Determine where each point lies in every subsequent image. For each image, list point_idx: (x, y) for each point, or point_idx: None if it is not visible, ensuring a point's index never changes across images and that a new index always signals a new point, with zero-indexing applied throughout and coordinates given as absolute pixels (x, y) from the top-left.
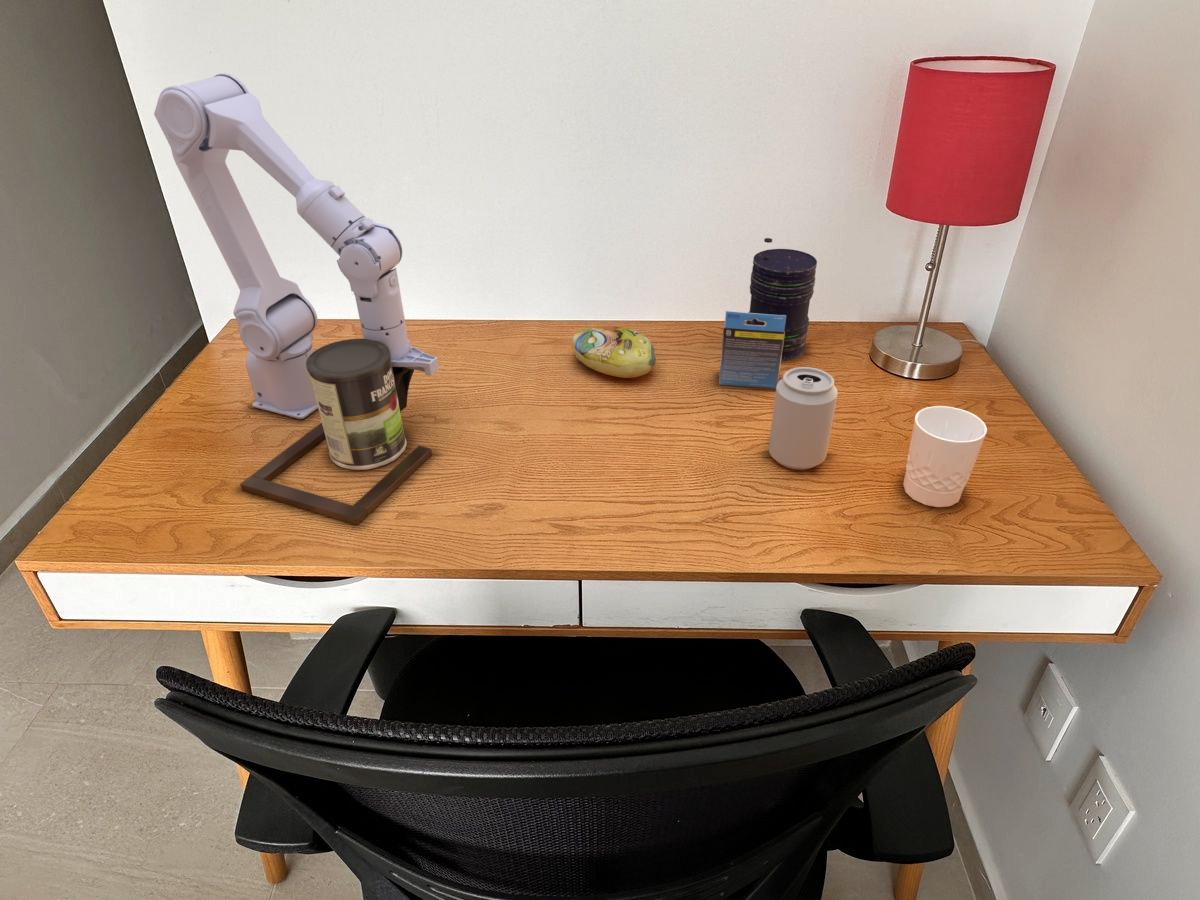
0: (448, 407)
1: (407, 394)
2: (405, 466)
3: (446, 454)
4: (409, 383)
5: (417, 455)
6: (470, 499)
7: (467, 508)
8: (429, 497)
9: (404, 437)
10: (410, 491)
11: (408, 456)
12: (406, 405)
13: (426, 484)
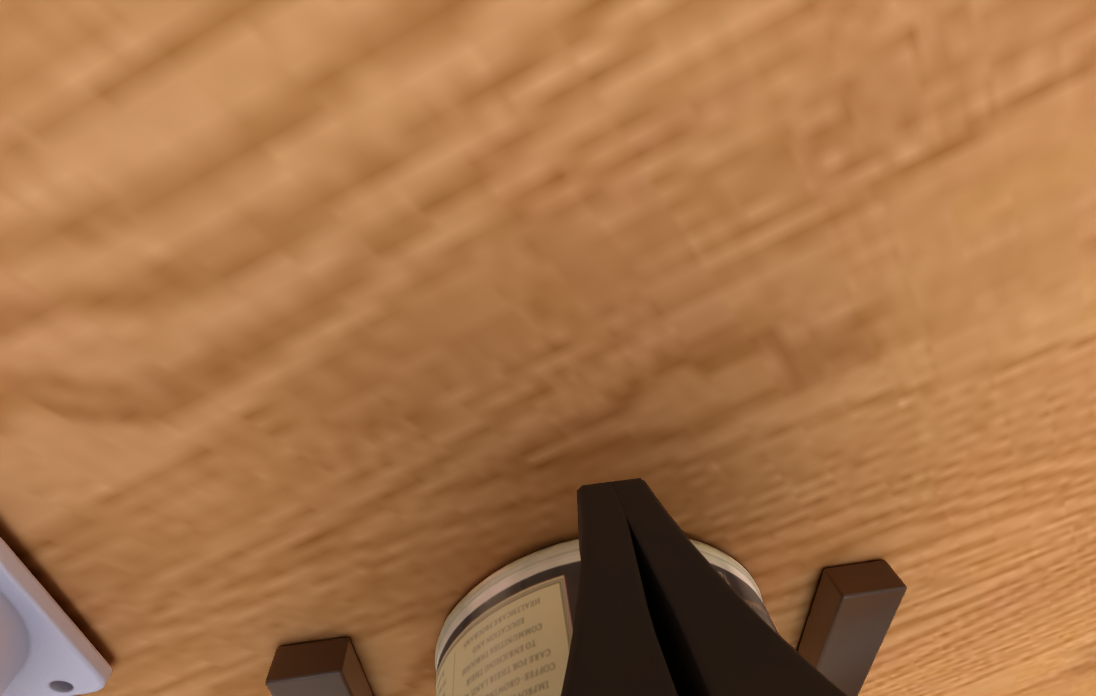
0: (814, 197)
1: (689, 540)
2: (845, 683)
3: (945, 531)
4: (774, 632)
5: (864, 633)
6: (1081, 634)
7: (1075, 656)
8: (946, 677)
9: (766, 613)
10: (876, 687)
11: (830, 651)
12: (648, 487)
13: (917, 652)
